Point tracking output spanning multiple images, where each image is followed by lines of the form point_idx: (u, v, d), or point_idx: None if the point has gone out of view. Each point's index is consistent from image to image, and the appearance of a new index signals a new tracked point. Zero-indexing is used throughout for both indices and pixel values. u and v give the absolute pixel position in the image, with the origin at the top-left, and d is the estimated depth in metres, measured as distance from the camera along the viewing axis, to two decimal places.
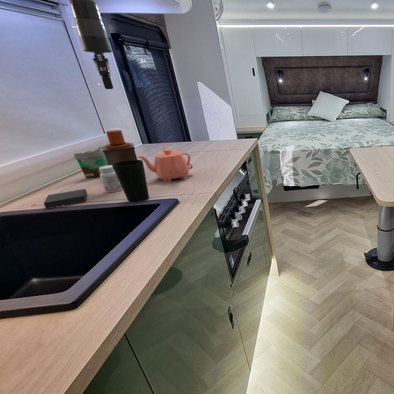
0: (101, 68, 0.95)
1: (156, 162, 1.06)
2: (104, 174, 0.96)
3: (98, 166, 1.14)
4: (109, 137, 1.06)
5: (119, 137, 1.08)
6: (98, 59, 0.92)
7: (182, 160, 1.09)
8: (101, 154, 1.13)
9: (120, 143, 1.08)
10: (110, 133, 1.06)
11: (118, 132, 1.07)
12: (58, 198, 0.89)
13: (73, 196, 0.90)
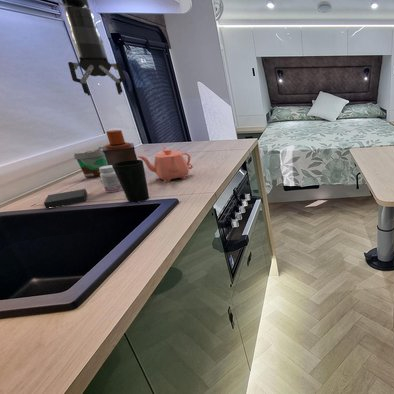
0: (83, 75, 0.98)
1: (156, 162, 1.06)
2: (104, 174, 0.96)
3: (98, 166, 1.14)
4: (109, 137, 1.06)
5: (119, 137, 1.08)
6: (69, 67, 0.95)
7: (182, 160, 1.09)
8: (101, 154, 1.13)
9: (120, 143, 1.08)
10: (110, 133, 1.06)
11: (118, 132, 1.07)
12: (58, 198, 0.89)
13: (73, 196, 0.90)
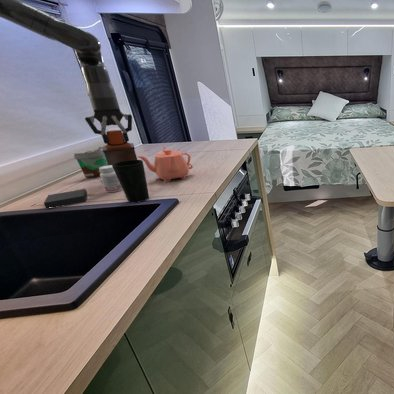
0: None
1: (156, 162, 1.06)
2: (104, 174, 0.96)
3: (98, 166, 1.14)
4: (109, 137, 1.06)
5: (119, 137, 1.08)
6: (87, 121, 1.03)
7: (182, 160, 1.09)
8: (101, 154, 1.13)
9: (120, 143, 1.08)
10: (110, 133, 1.06)
11: (118, 132, 1.07)
12: (58, 198, 0.89)
13: (73, 196, 0.90)
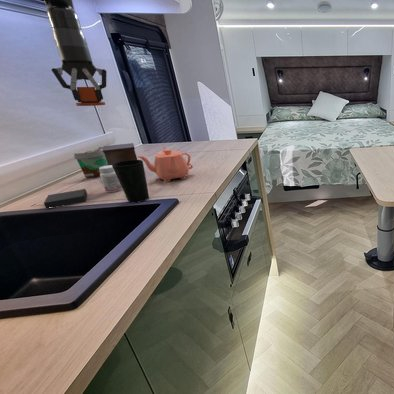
0: None
1: (156, 162, 1.06)
2: (104, 174, 0.96)
3: (98, 166, 1.14)
4: (80, 93, 0.95)
5: (91, 94, 0.97)
6: None
7: (182, 160, 1.09)
8: (101, 154, 1.13)
9: (93, 101, 0.97)
10: (81, 88, 0.95)
11: (90, 88, 0.96)
12: (58, 198, 0.89)
13: (73, 196, 0.90)
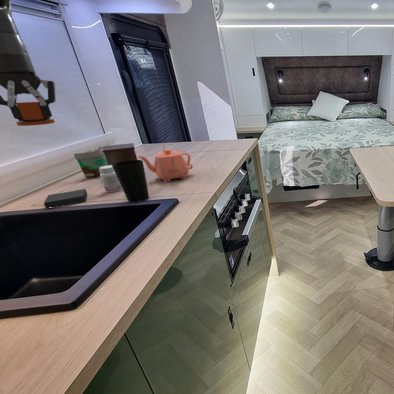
0: None
1: (156, 162, 1.06)
2: (104, 174, 0.96)
3: (98, 166, 1.14)
4: (20, 110, 0.79)
5: (35, 111, 0.80)
6: None
7: (182, 160, 1.09)
8: (101, 154, 1.13)
9: (37, 119, 0.81)
10: (21, 104, 0.78)
11: (33, 104, 0.80)
12: (58, 198, 0.89)
13: (73, 196, 0.90)
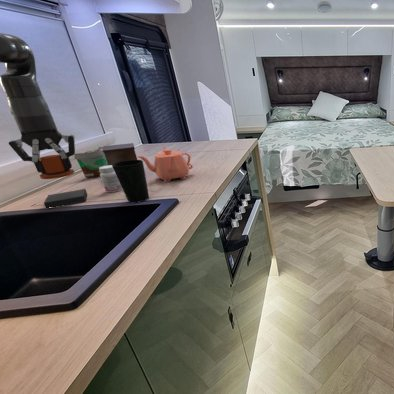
0: None
1: (156, 162, 1.06)
2: (104, 174, 0.96)
3: (98, 166, 1.14)
4: (44, 164, 0.85)
5: (57, 165, 0.86)
6: None
7: (182, 160, 1.09)
8: (101, 154, 1.13)
9: (59, 171, 0.87)
10: (44, 160, 0.84)
11: (55, 158, 0.86)
12: (58, 198, 0.89)
13: (73, 196, 0.90)
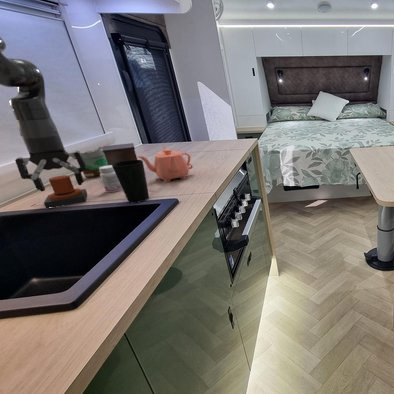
0: None
1: (156, 162, 1.06)
2: (104, 174, 0.96)
3: (98, 166, 1.14)
4: (53, 186, 0.87)
5: (65, 186, 0.89)
6: None
7: (182, 160, 1.09)
8: (101, 154, 1.13)
9: (67, 192, 0.89)
10: (53, 181, 0.87)
11: (64, 179, 0.88)
12: None
13: None
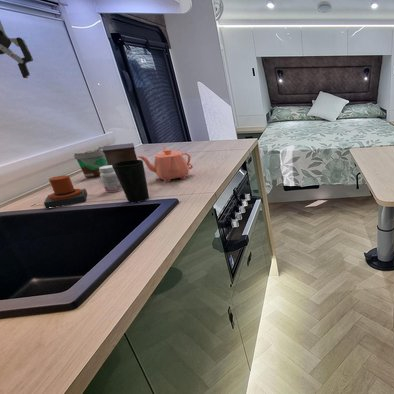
0: None
1: (156, 162, 1.06)
2: (104, 174, 0.96)
3: (98, 166, 1.14)
4: (53, 186, 0.87)
5: (65, 186, 0.89)
6: None
7: (182, 160, 1.09)
8: (101, 154, 1.13)
9: (67, 192, 0.89)
10: (53, 181, 0.87)
11: (64, 179, 0.88)
12: None
13: None
